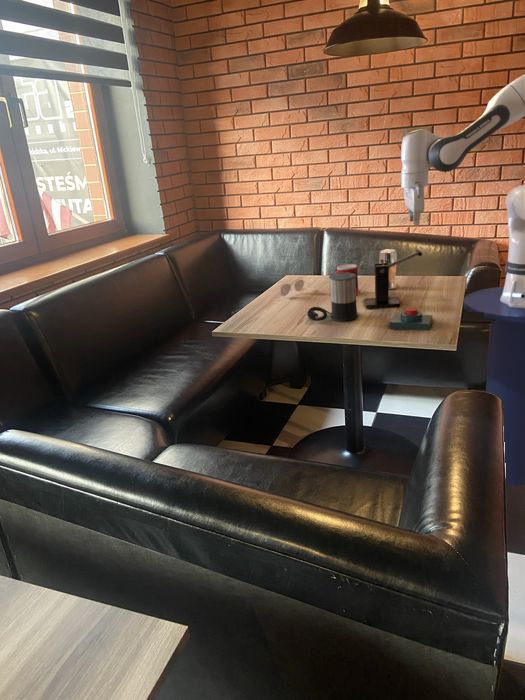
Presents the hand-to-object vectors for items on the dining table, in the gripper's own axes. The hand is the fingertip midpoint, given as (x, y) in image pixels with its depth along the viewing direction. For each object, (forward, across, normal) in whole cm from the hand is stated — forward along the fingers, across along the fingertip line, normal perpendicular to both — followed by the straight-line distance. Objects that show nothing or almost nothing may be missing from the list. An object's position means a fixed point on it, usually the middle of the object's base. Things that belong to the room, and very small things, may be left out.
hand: (414, 223), depth 186 cm
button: (+25, -25, +4) cm, 36 cm away
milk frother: (+29, -14, +29) cm, 43 cm away
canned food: (+29, +18, +23) cm, 41 cm away
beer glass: (+29, +23, +7) cm, 38 cm away
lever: (+14, 0, +5) cm, 15 cm away
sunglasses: (+29, +20, +43) cm, 55 cm away
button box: (+29, -25, +4) cm, 38 cm away
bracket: (+29, 0, +11) cm, 31 cm away
